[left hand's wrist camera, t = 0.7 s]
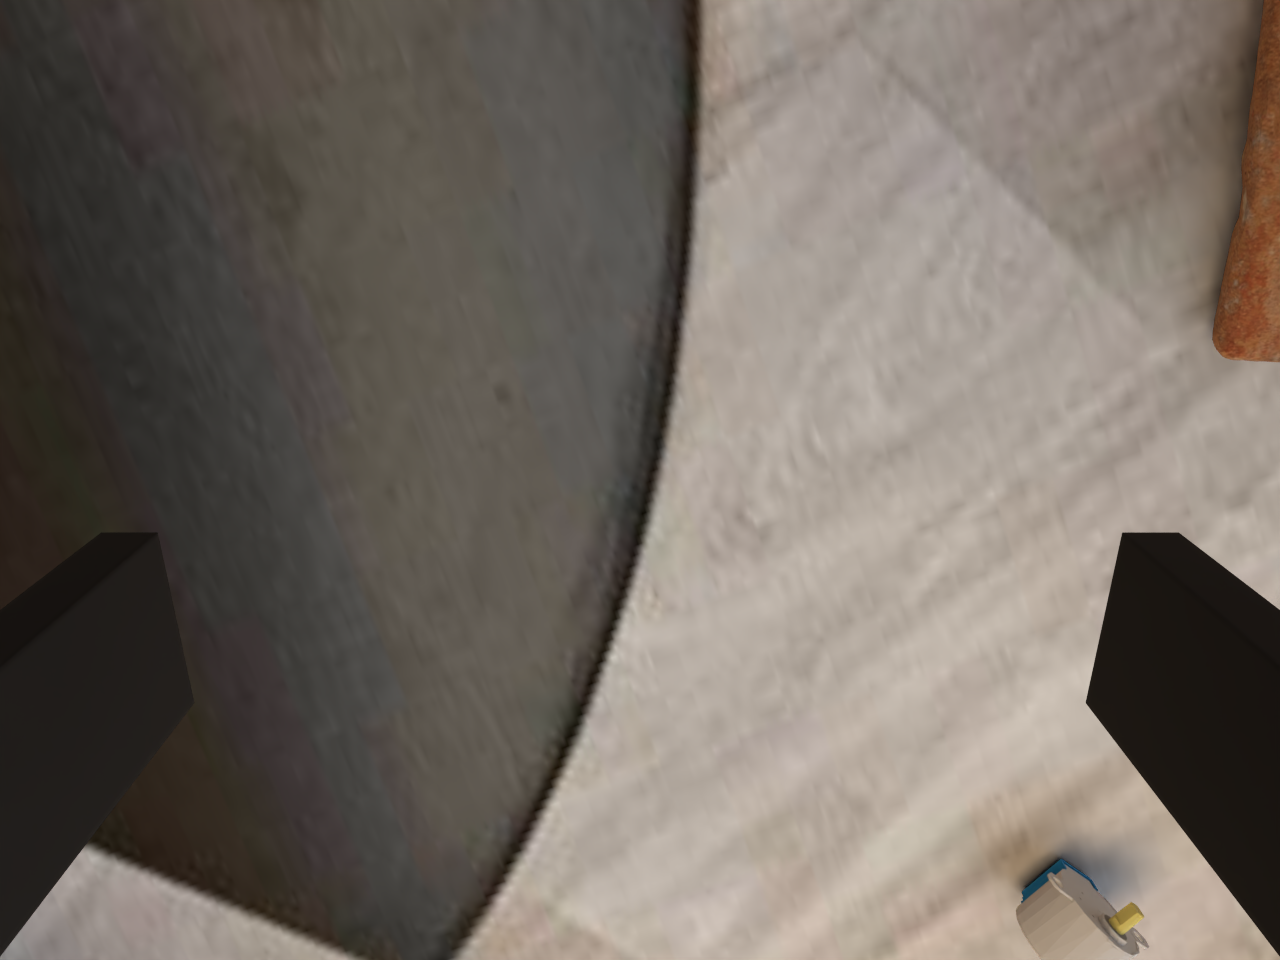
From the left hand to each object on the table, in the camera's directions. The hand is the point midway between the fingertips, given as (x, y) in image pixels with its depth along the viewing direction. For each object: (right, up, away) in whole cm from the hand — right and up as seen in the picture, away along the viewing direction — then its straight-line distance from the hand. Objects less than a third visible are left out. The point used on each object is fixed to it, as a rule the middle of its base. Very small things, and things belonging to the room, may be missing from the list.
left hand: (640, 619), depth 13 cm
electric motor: (+22, -19, +35) cm, 45 cm away
